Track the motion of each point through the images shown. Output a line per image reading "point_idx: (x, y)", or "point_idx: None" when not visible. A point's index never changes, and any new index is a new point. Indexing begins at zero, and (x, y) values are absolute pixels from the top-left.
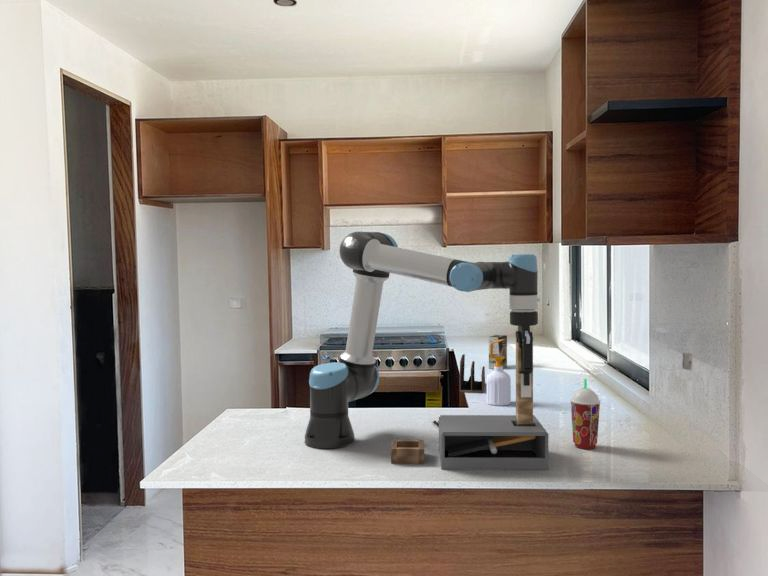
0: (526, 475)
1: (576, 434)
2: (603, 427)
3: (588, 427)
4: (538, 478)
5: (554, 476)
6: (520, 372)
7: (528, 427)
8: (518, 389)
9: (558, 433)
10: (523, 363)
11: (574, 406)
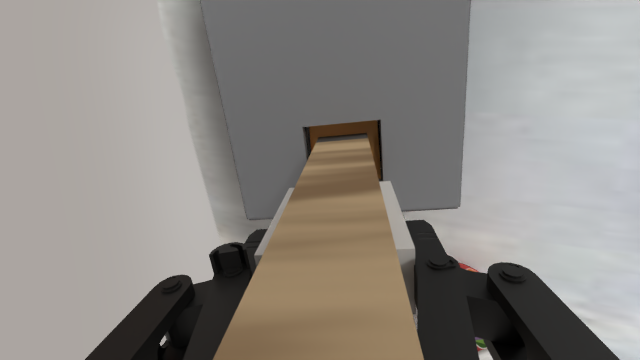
0: (228, 133)
1: None
2: (620, 347)
3: None
4: (215, 156)
5: (235, 189)
6: (214, 256)
7: (292, 172)
8: (294, 189)
9: (581, 244)
10: (108, 336)
11: (476, 341)
